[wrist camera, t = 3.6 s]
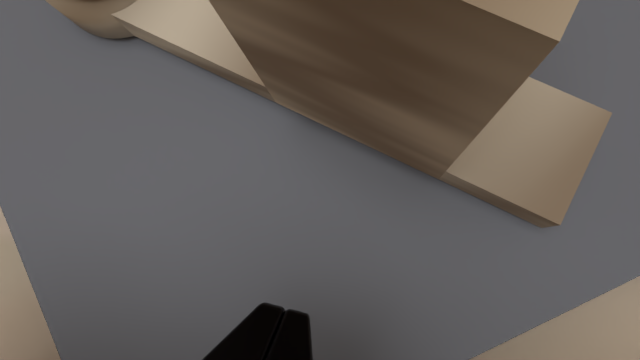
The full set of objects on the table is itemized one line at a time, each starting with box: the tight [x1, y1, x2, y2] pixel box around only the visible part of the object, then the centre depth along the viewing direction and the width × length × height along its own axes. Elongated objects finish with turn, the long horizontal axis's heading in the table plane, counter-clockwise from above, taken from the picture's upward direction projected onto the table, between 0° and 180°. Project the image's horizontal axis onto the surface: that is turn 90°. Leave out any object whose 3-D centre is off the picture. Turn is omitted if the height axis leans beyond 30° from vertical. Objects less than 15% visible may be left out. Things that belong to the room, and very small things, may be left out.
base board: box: [0, 0, 640, 360], centre depth 17 cm, size 22×19×1 cm
